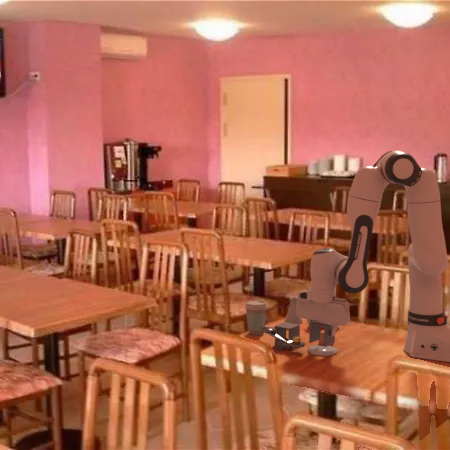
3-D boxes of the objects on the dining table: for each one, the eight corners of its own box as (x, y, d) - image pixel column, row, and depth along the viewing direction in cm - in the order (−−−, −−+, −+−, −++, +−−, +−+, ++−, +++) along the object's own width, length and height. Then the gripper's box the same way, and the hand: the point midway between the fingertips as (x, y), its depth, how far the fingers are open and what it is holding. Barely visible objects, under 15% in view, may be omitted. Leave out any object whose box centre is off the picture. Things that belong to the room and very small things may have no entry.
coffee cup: (265, 336, 288) (265, 305, 286) (243, 335, 290) (243, 304, 288) (269, 330, 296) (269, 300, 295) (247, 329, 298) (247, 299, 296)
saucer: (342, 350, 270) (342, 348, 270) (327, 357, 263) (327, 355, 262) (318, 345, 276) (318, 343, 276) (302, 352, 269) (302, 350, 269)
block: (333, 343, 279) (334, 331, 279) (328, 346, 276) (328, 333, 276) (324, 341, 282) (324, 329, 281) (318, 344, 279) (318, 332, 278)
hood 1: (299, 343, 279) (299, 324, 278) (289, 347, 274) (289, 328, 273) (285, 340, 283) (285, 321, 282) (275, 344, 278) (275, 325, 277)
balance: (308, 351, 270) (308, 334, 269) (298, 355, 265) (298, 338, 264) (266, 342, 281) (266, 325, 280) (256, 346, 276) (256, 329, 275)
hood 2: (334, 342, 270) (335, 322, 269) (325, 346, 265) (325, 326, 264) (319, 338, 274) (319, 319, 272) (309, 342, 269) (309, 323, 268)
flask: (301, 325, 304) (301, 300, 303) (283, 324, 305) (283, 299, 304) (303, 320, 311) (303, 296, 310) (285, 319, 312) (285, 295, 311)
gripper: (353, 297, 263) (353, 336, 265) (303, 289, 275) (303, 326, 277) (344, 301, 258) (343, 341, 260) (293, 292, 270) (293, 330, 272)
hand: (322, 333), depth 269 cm, fingers closed on hood 2, 6 cm apart
